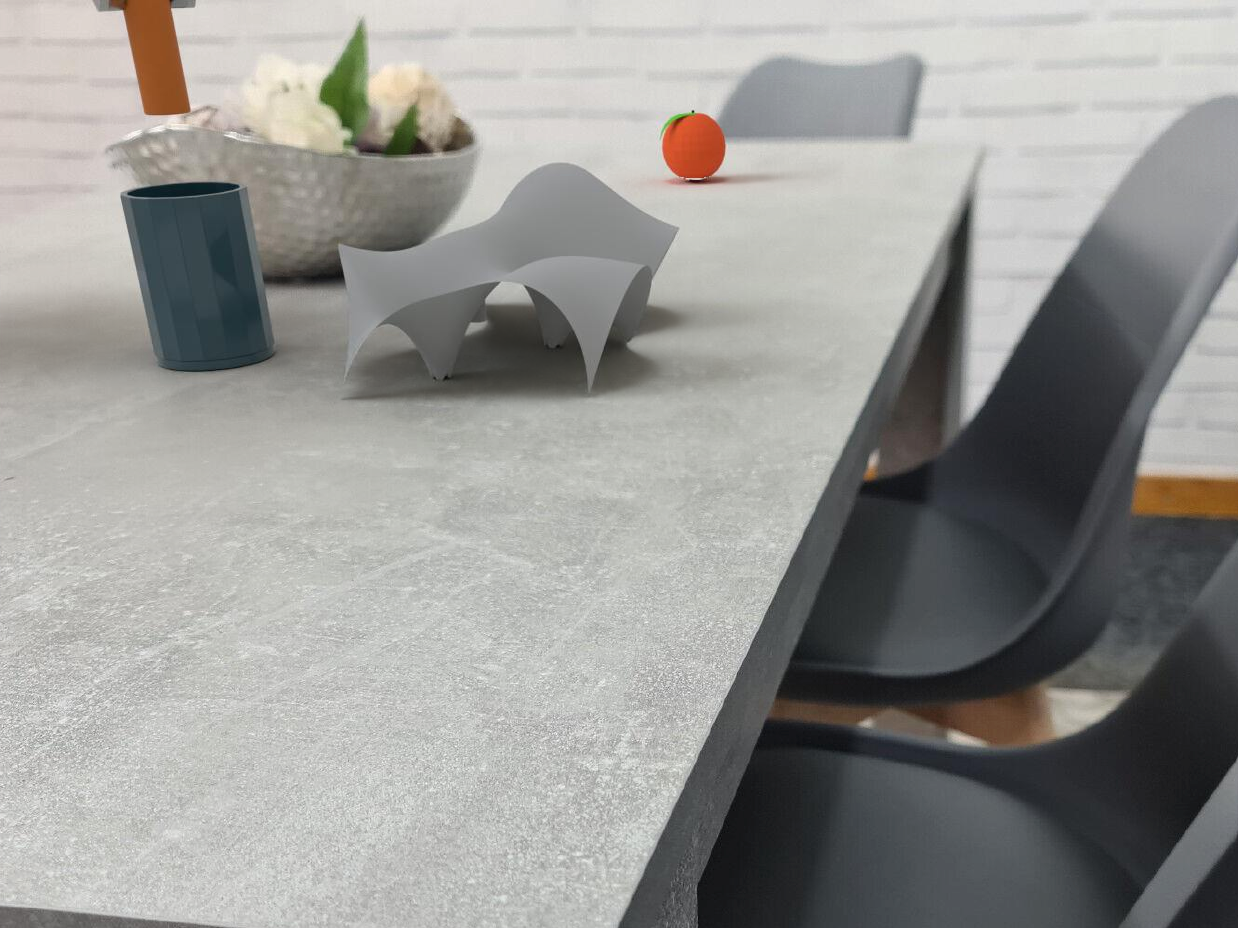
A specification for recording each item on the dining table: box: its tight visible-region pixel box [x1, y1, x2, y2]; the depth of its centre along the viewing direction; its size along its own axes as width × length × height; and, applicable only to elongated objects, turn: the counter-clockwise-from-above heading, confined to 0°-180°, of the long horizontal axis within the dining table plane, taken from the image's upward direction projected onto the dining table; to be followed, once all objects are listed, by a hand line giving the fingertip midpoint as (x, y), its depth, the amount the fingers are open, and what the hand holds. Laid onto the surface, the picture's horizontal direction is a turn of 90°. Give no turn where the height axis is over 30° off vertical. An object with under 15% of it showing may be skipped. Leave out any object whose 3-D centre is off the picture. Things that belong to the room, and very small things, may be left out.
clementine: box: [659, 109, 727, 178], centre depth 155 cm, size 8×7×7 cm
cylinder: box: [122, 0, 192, 116], centre depth 82 cm, size 3×3×11 cm
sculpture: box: [337, 162, 680, 396], centre depth 90 cm, size 25×19×10 cm
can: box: [119, 180, 276, 372], centre depth 89 cm, size 7×7×10 cm
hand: (149, 1), depth 81 cm, fingers closed on cylinder, 2 cm apart
